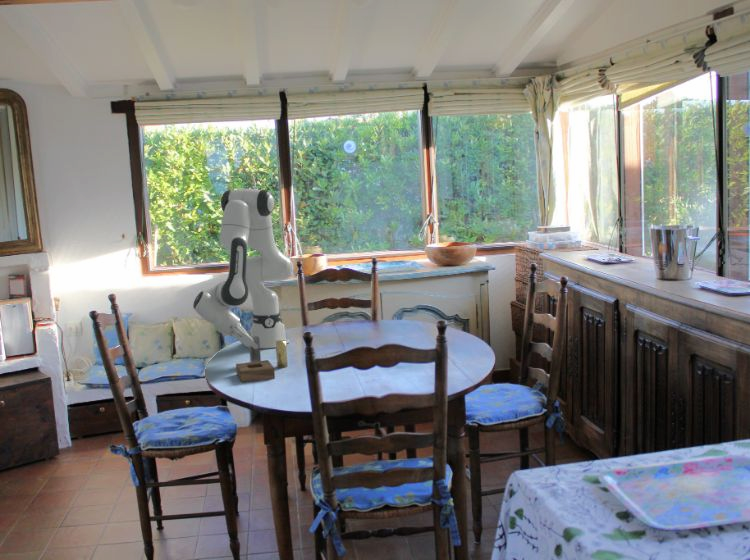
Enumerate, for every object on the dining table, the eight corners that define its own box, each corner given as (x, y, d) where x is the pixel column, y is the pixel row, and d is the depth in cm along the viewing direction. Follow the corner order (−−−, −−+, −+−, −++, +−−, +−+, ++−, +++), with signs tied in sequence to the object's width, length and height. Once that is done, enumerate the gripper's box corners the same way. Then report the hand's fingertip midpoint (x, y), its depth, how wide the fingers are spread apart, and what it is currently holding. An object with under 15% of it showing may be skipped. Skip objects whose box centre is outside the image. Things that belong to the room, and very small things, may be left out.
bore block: (236, 374, 270) (236, 363, 269) (268, 370, 274) (267, 360, 273) (241, 382, 259) (241, 371, 258) (274, 378, 262) (274, 367, 262)
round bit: (276, 365, 280) (274, 340, 278) (286, 364, 281) (284, 339, 279) (278, 368, 276) (276, 342, 274) (288, 367, 277) (287, 341, 276)
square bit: (250, 361, 284) (248, 337, 283) (259, 360, 285) (257, 335, 284) (251, 363, 281) (250, 338, 279) (260, 362, 282) (259, 337, 280)
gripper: (238, 323, 268) (266, 345, 273) (230, 313, 287) (256, 334, 292) (227, 336, 268) (255, 358, 272) (220, 325, 287) (246, 346, 291)
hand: (256, 346), depth 282 cm, fingers closed on square bit, 4 cm apart
